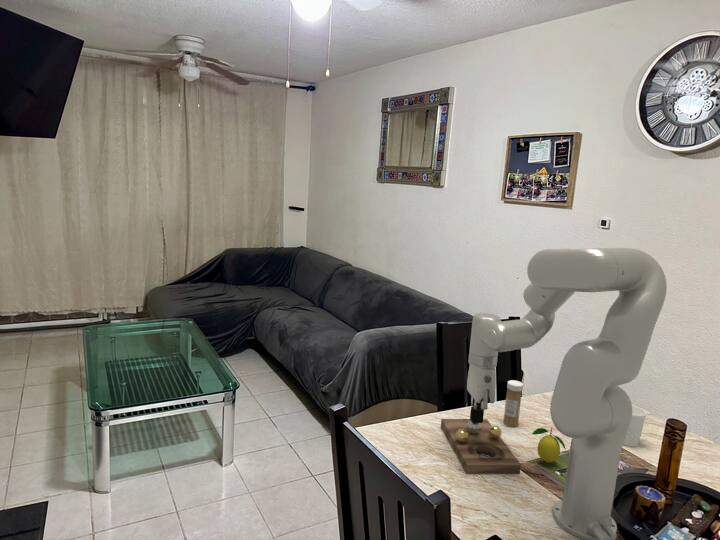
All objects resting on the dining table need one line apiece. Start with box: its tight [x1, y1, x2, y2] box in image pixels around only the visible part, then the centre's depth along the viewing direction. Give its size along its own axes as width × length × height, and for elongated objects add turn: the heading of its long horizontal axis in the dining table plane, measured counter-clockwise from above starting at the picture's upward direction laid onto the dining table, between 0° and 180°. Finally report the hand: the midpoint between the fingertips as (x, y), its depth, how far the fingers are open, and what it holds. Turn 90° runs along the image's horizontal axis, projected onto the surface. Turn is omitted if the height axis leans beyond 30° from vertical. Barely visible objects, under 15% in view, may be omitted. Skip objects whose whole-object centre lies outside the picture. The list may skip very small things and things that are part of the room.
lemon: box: [531, 427, 567, 464], centre depth 127 cm, size 7×6×10 cm
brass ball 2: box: [488, 425, 502, 439], centre depth 134 cm, size 4×4×4 cm
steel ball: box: [467, 420, 482, 434], centre depth 136 cm, size 4×4×4 cm
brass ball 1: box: [456, 429, 469, 443], centre depth 131 cm, size 4×4×4 cm
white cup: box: [623, 404, 647, 448], centre depth 142 cm, size 8×8×10 cm
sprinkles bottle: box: [502, 379, 524, 428], centre depth 148 cm, size 5×5×13 cm
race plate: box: [440, 418, 522, 475], centre depth 133 cm, size 24×14×2 cm, turn 6°
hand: (476, 421), depth 135 cm, fingers closed
